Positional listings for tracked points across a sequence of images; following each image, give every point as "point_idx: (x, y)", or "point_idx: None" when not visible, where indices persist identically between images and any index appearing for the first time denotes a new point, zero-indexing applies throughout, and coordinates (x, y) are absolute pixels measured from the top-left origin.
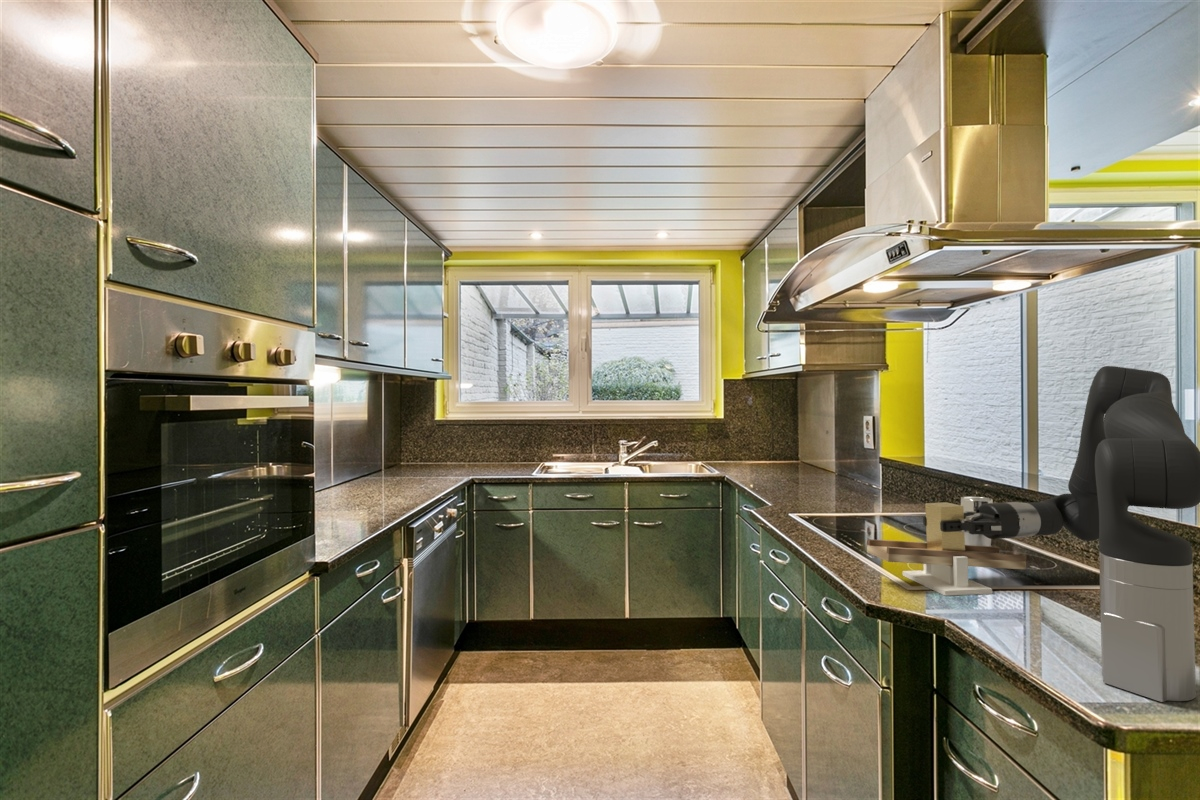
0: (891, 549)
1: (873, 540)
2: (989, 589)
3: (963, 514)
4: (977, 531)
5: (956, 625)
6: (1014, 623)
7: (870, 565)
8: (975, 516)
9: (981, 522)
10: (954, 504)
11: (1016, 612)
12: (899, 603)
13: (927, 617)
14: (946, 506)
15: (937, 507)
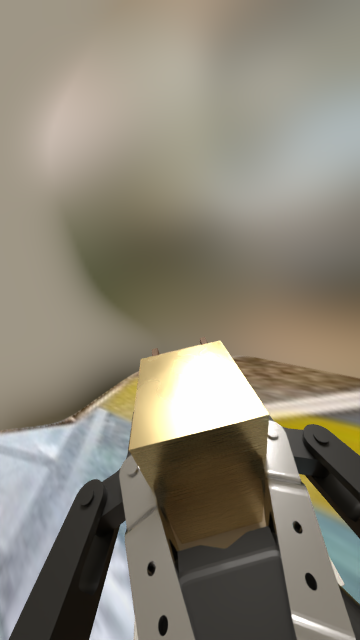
0: (152, 352)
1: (201, 341)
2: (134, 630)
3: (142, 473)
4: (91, 547)
5: (57, 424)
6: (2, 524)
7: (310, 400)
8: (136, 604)
9: (47, 558)
10: (189, 423)
11: (18, 594)
12: (131, 392)
13: (88, 405)
14: (146, 375)
15: (158, 358)
